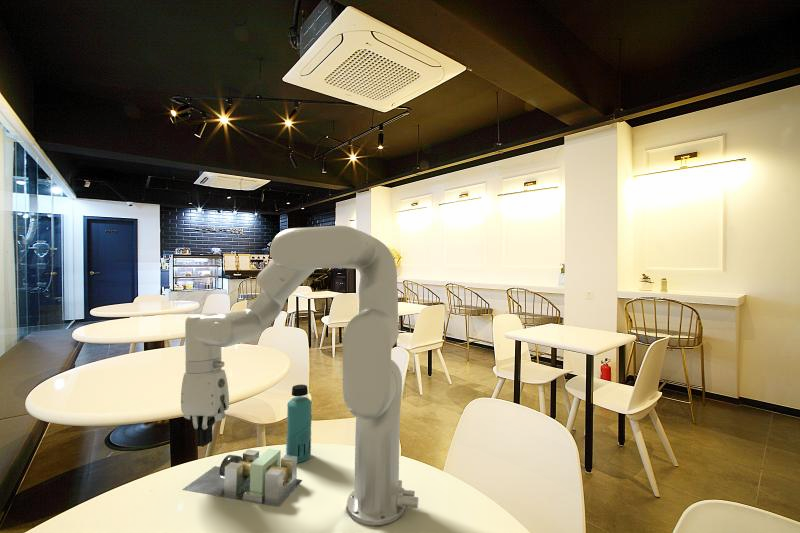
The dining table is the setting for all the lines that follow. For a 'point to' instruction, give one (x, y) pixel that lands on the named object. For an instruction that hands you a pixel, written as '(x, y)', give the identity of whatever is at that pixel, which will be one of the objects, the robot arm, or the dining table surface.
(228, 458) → the shaft
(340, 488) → the dining table surface
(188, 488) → the rig
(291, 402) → the beverage bottle
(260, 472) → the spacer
